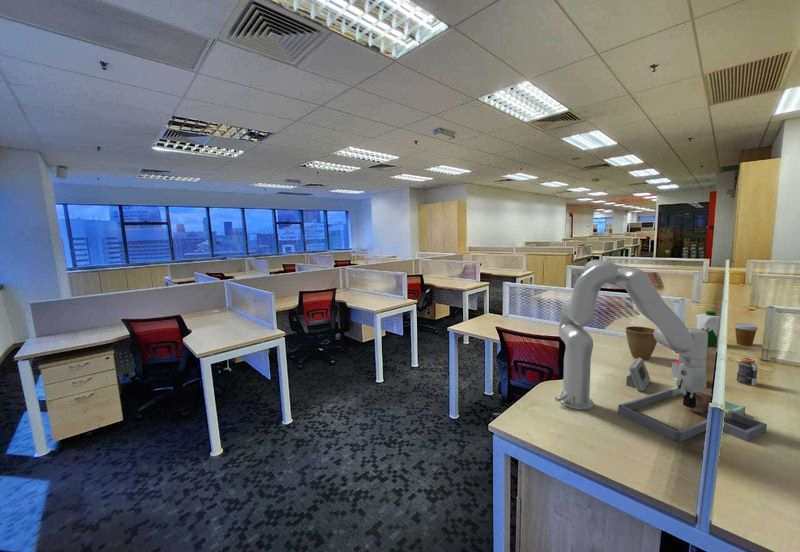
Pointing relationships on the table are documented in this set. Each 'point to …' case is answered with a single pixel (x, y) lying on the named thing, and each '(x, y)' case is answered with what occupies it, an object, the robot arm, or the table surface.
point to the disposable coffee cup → (745, 333)
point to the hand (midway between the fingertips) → (689, 406)
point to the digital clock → (638, 375)
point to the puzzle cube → (675, 369)
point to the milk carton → (709, 325)
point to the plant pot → (641, 341)
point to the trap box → (732, 425)
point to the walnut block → (702, 401)
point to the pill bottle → (747, 371)
